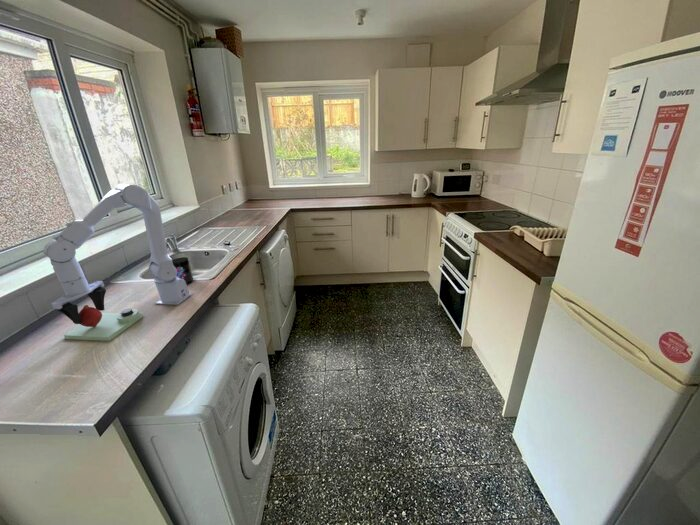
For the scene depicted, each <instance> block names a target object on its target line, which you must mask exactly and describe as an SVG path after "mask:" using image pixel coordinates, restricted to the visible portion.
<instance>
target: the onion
mask: <svg viewBox="0 0 700 525" xmlns="http://www.w3.org/2000/svg"><path fill="white" fill-rule="evenodd" d="M78 312H79V315H80V317H81V320H82V323H81V324H80V325H83V326H86V327H95V326H97V324H98V323H99V322H100V321H101V319H102V313H103V312H102V311H99V310H98V309H96V307H92V306H89V304H85V305H83V307H82V308H81V309H80V311H78Z"/></svg>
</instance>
